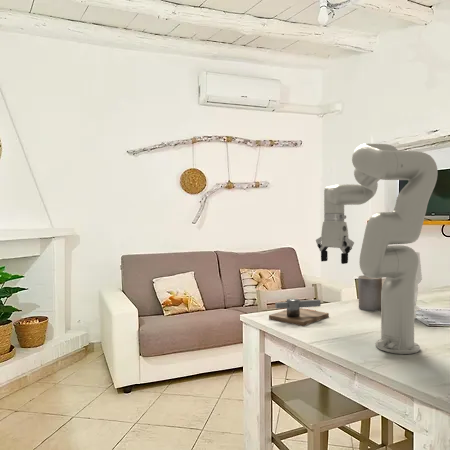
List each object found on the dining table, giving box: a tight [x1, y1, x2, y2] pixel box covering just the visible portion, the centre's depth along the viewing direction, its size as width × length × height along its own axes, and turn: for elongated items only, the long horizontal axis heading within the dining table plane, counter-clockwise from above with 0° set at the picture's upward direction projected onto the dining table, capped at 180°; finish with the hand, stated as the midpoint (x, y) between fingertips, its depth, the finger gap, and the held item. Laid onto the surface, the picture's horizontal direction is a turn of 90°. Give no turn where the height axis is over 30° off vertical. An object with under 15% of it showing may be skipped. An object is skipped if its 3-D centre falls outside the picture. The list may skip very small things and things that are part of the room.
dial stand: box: [268, 307, 330, 327], centre depth 176 cm, size 18×16×2 cm
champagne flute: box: [415, 251, 423, 312], centre depth 188 cm, size 7×7×24 cm
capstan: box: [274, 298, 322, 317], centre depth 173 cm, size 18×5×6 cm, turn 102°
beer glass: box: [414, 279, 419, 320], centre depth 174 cm, size 7×7×15 cm
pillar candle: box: [357, 274, 383, 312], centre depth 190 cm, size 10×10×15 cm
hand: (334, 262), depth 172 cm, fingers open, 9 cm apart
